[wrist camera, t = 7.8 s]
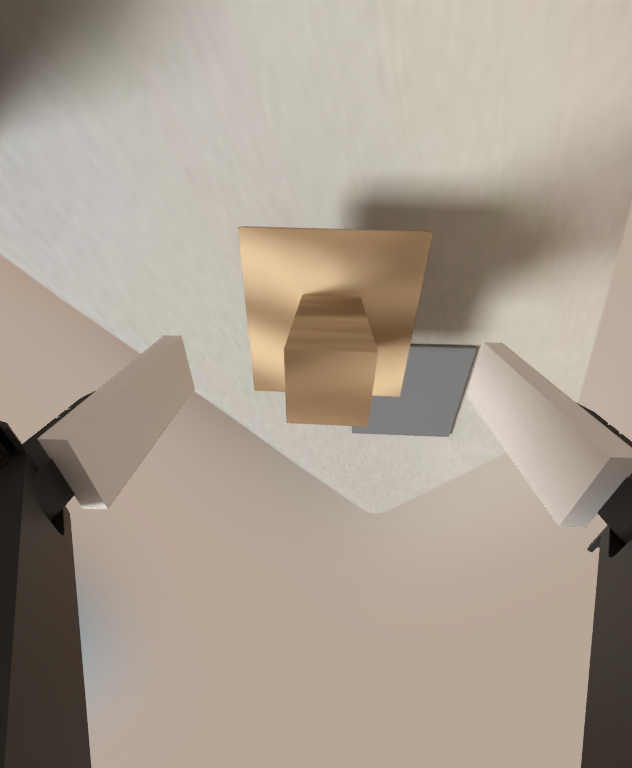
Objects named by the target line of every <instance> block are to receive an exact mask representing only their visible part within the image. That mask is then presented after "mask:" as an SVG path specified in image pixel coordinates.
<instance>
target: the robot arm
mask: <svg viewBox="0 0 632 768" xmlns="http://www.w3.org/2000/svg"><path fill="white" fill-rule="evenodd" d="M194 389H195V388H194V384H193V380H192V376H191V372H190V368H189V364H188V360H187V356H186V352H185V348H184V344H183V340H182V336H163V337H162V338H161V339H159V340H158V341H157V342H156V343H154V344H153V345H152V346H151V347H150V348H148V349H147V350H146V351H145V352H143V353H142V354H141V355H140V356H138V357H137V358H136V359H135V360H134V361H132V362H131V363H130V364H129V365H127V366H126V367H125V368H124V369H123V370H121V371H120V372H119V373H118V374H116V375H115V376H114V377H113V378H111V379H110V380H109V381H108V382H106V383H105V384H104V385H103V386H102V387H101V388H99V389H98V390H97V391H94V392H92V393H90V394H88V395H86V396H84V397H82V398H80V399H79V400H78V401H76V402H75V403H74V404H73V405H71V406H70V407H69V408H68V410H65V411H64V412H62V413H61V414H60V415H59V416H58V418H55V419H54V420H52V421H51V422H50V423H48V424H47V425H46V426H45V427H44V428H42V429H41V430H40V431H38V432H37V433H36V434H35V435H33V436H32V437H31V438H30V439H28V440H27V441H26V442H24V443H23V444H21V442H20V441H19V439H18V438H17V437H16V435H15V434H14V433H13V431H12V429H11V428H10V427H9V425H8V424H7V423H5V422H2V421H0V768H91V760H90V747H89V735H88V723H87V711H86V700H85V688H84V676H83V663H82V652H81V640H80V628H79V616H78V604H77V592H76V580H75V568H74V556H73V544H72V533H71V520H70V513H69V511H68V509H67V508H66V506H65V505H66V504H67V503H68V502H69V501H70V500H71V498H72V497H73V496H75V497H76V499H77V500H78V502H79V503H80V505H81V506H82V508H89V509H108V508H109V507H110V506H111V504H112V503H113V501H114V500H115V499H116V497H117V496H118V495H119V493H120V492H121V490H122V489H123V488H124V486H125V485H126V483H127V482H128V480H129V479H130V478H131V476H132V475H133V474H134V472H135V471H136V469H137V468H138V466H139V465H140V464H141V463H142V461H143V460H144V458H145V457H146V456H147V454H148V453H149V451H150V450H151V449H152V447H153V446H154V444H155V443H156V442H157V440H158V439H159V438H160V436H161V435H162V433H163V432H164V431H165V429H166V427H167V426H168V425H169V424H170V422H171V420H172V419H173V418H174V416H175V415H176V414H177V412H178V411H179V409H180V408H181V407H182V405H183V404H184V403H185V401H186V400H187V399H188V397H189V396H190V394H191V393H192V392H193V390H194ZM466 396H467V398H468V399H469V401H470V402H471V403H472V405H473V406H474V408H475V409H476V410H477V412H478V413H479V415H480V416H481V417H482V419H483V420H484V422H485V423H486V424H487V426H488V427H489V429H490V430H491V432H492V433H493V434H494V436H495V437H496V439H497V440H498V441H499V443H500V444H501V446H502V447H503V448H504V450H505V451H506V453H507V454H508V455H509V457H510V458H511V460H512V461H513V463H514V464H515V465H516V467H517V468H518V469H519V471H520V472H521V474H522V475H523V477H524V478H525V479H526V481H527V482H528V484H529V485H530V486H531V488H532V489H533V491H534V492H535V494H536V495H537V496H538V498H539V499H540V501H541V502H542V503H543V505H544V506H545V507H546V509H547V510H548V512H549V513H550V515H551V516H552V517H553V519H554V520H555V522H556V523H557V524H558V526H559V527H587V526H588V525H589V524H590V522H591V521H592V520H593V519H594V518H595V517H596V515H597V514H599V515H600V517H601V518H602V519H603V520H604V521H605V522H606V523H607V526H606V528H605V529H604V530H603V531H602V532H601V533H600V534H599V535H598V537H597V538H596V539H595V540H594V541H593V542H592V543H591V544H590V546H589V548H588V549H587V550H589V551H590V552H593V551H594V550H595V549H596V548H598V547H600V552H599V564H598V575H597V587H596V599H595V610H594V622H593V634H592V645H591V658H590V669H589V680H588V693H587V703H586V716H585V727H584V739H583V751H582V763H581V768H632V442H631V441H630V440H629V439H628V438H626V437H625V436H624V435H623V434H619V431H617V430H616V429H615V428H614V427H612V426H611V425H608V423H607V422H606V421H605V420H604V419H602V418H601V417H600V416H599V415H597V414H596V413H595V412H593V411H591V410H589V409H587V408H585V407H584V406H582V405H580V404H578V403H576V402H575V401H573V400H572V399H571V398H570V397H568V396H567V395H566V394H565V393H563V392H562V391H561V390H560V389H558V388H557V387H556V386H555V385H554V384H552V383H551V382H550V381H549V380H547V379H546V378H545V377H544V376H542V375H541V374H540V373H539V372H538V371H536V370H535V369H534V368H533V367H531V366H530V365H529V364H528V363H526V362H525V361H524V360H523V359H522V358H520V357H519V356H518V355H517V354H515V353H514V352H513V351H512V350H510V349H509V348H508V347H507V346H505V345H504V344H503V343H484V344H483V347H482V350H481V353H480V356H479V359H478V362H477V365H476V368H475V371H474V374H473V377H472V380H471V383H470V386H469V389H468V392H467V395H466Z"/></svg>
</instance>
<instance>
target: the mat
mask: <svg viewBox="0 0 632 768" xmlns="http://www.w3.org/2000/svg"><path fill="white" fill-rule="evenodd" d="M476 350H477V348H476V347H475V346H440V345H410V348H409V353H408V358H407V363H406V368H405V373H404V378H403V383H402V388H401V393H400V397H394V396H372V400H371V406H370V413H369V420H368V427H363V426H352V433H362V434H388V435H414V436H440V437H449V434H450V431H451V428H452V425H453V422H454V419H455V416H456V412H457V409H458V406H459V403H460V400H461V397H462V394H463V390H464V387H465V384H466V381H467V378H468V375H469V372H470V368H471V365H472V362H473V359H474V356H475V353H476Z"/></svg>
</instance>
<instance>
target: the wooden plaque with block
mask: <svg viewBox="0 0 632 768" xmlns="http://www.w3.org/2000/svg"><path fill="white" fill-rule="evenodd" d="M238 235H239V244H240V254H241V264H242V273H243V283H244V292H245V302H246V312H247V321H248V331H249V341H250V350H251V360H252V370H253V379H254V389H255V391H278V392H285V394H286V419H287V423H299V424H320V425H342V426H363V427H368V420H369V413H370V406H371V400H372V396H394V397H400V393H401V388H402V383H403V378H404V373H405V368H406V363H407V358H408V353H409V348H410V343H411V339H412V334H413V329H414V324H415V319H416V314H417V309H418V304H419V299H420V294H421V289H422V284H423V279H424V274H425V269H426V264H427V259H428V255H429V250H430V245H431V240H432V235H433V233H432V232H428V231H398V230H361V229H323V228H285V227H248V226H242V227H238Z"/></svg>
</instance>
